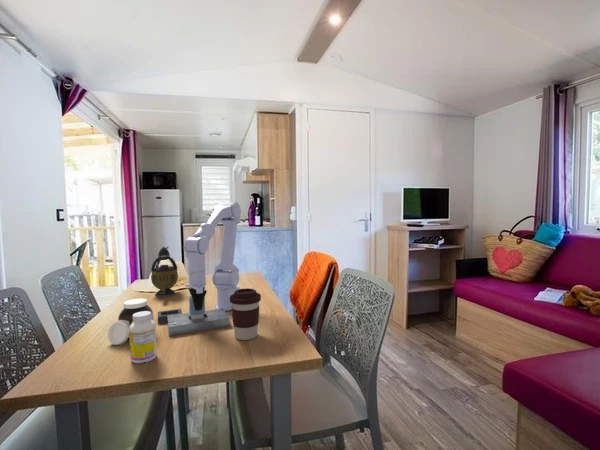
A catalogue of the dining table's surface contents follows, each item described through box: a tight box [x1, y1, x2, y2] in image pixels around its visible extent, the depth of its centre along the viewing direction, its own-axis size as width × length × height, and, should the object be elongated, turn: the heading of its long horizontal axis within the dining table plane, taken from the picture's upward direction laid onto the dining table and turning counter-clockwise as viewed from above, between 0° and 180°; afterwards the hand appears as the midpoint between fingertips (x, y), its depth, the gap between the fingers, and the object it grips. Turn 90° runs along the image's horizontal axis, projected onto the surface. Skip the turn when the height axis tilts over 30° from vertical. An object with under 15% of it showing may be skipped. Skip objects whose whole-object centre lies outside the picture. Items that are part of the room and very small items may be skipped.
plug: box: [188, 295, 206, 320], centre depth 115 cm, size 5×3×8 cm, turn 114°
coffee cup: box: [230, 288, 262, 341], centre depth 105 cm, size 10×10×15 cm
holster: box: [157, 308, 183, 324], centre depth 122 cm, size 8×6×2 cm
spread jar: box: [107, 297, 155, 346], centre depth 104 cm, size 12×11×12 cm
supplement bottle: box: [129, 311, 158, 364], centre depth 90 cm, size 7×7×13 cm
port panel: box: [167, 308, 231, 337], centre depth 116 cm, size 20×12×3 cm, turn 114°
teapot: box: [150, 246, 179, 298], centre depth 153 cm, size 12×25×23 cm, turn 18°
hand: (197, 308), depth 115 cm, fingers closed on plug, 3 cm apart
